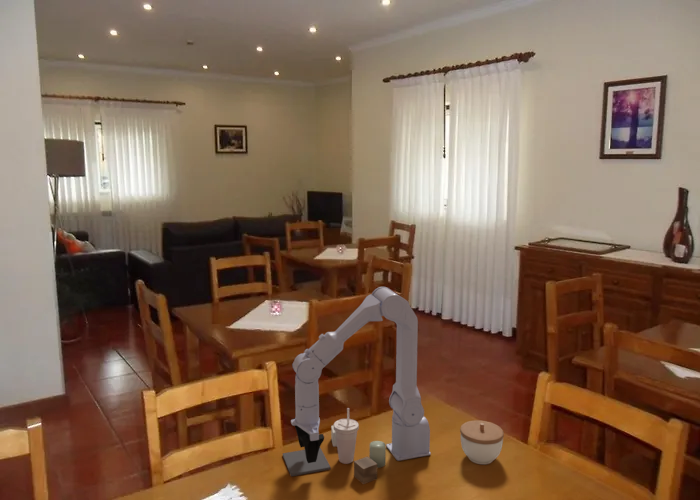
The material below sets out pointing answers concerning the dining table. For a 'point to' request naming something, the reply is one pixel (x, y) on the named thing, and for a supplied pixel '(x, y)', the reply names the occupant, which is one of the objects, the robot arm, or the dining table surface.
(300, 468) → the mat
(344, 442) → the smoothie
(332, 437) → the grey block
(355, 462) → the walnut block
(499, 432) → the lidded jar
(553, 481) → the dining table surface
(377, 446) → the sage tin
